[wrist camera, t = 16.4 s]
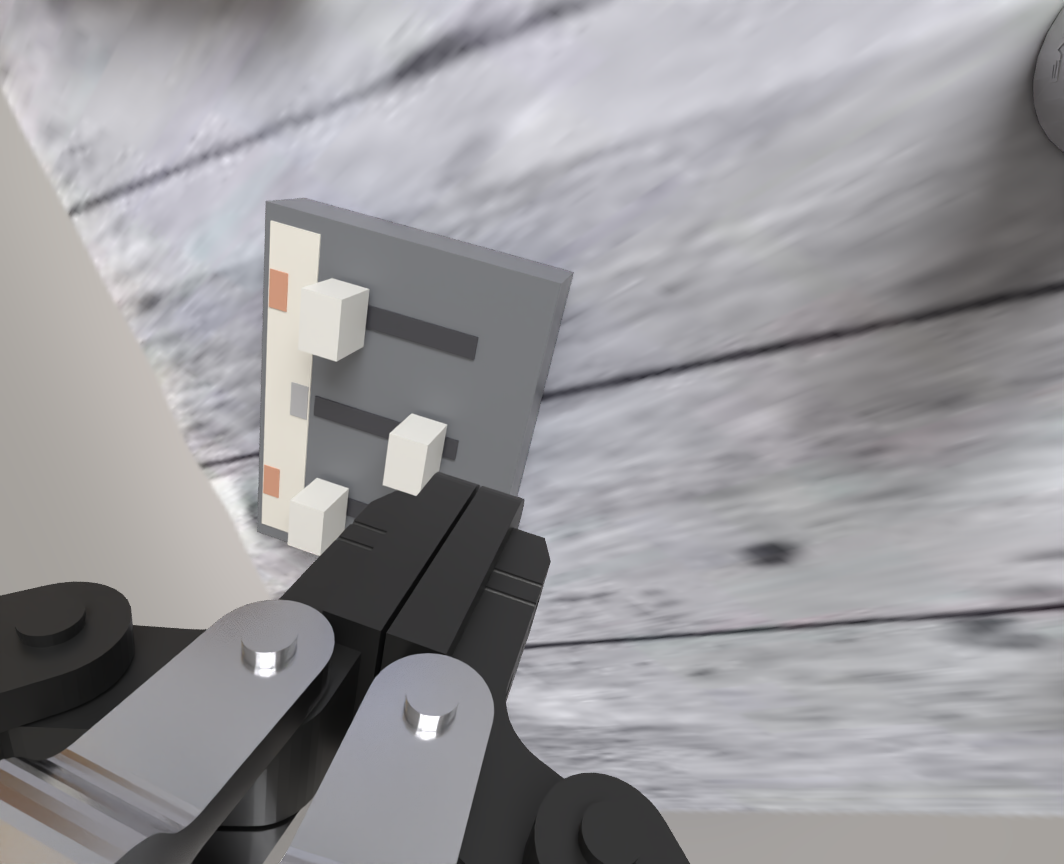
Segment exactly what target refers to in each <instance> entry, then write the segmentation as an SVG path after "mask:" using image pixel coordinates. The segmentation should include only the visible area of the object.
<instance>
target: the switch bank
mask: <svg viewBox="0 0 1064 864" xmlns="http://www.w3.org/2000/svg"><path fill="white" fill-rule="evenodd" d="M572 276H573V272H571V271H567V270H564V269H560V268H556V267H553V266H549V265H546V264H542V263H538V262H535V261H531V260H527V259H524V258H520V257H517V256H513V255H509V254H506V253H502V252H498V251H495V250H491V249H488V248H484V247H480V246H477V245H473V244H469V243H466V242H462V241H459V240H455V239H451V238H448V237H444V236H441V235H437V234H433V233H430V232H426V231H422V230H419V229H415V228H412V227H408V226H404V225H401V224H397V223H393V222H390V221H386V220H383V219H379V218H375V217H372V216H368V215H365V214H361V213H357V212H354V211H350V210H346V209H343V208H339V207H336V206H332V205H328V204H325V203H321V202H317V201H314V200H310V199H307V198H297V199H285V200H273V201H266V213H265V252H264V291H263V331H262V370H261V409H260V448H259V487H258V527H257V532H260V533H263V534H265V535H268V536H271V537H274V538H277V539H280V540H283V541H286V542H288V528H289V509H290V500H291V499H292V498H294V497H295V496H296V495H297V494H298V493H299V492H301V491H302V490H303V489H304V488H305V487H307V486H308V485H309V484H310V483H311V482H313V481H314V480H315V479H316V478H319V479H322V480H325V481H328V482H331V483H334V484H337V485H340V486H343V487H346V488H349V492H348V501H347V511H346V521H345V529H346V528H347V527H348V526H349V525H350V524H353V521H354V519H355V518H356V517H357V516H358V515H359V514H360V513H361V512H362V511H363V510H364V509H365V508H366V507H367V506H368V505H369V503H370V502H372V501H374V500H376V499H378V498H381V497H383V496H385V495H387V494H390V493H392V492H394V491H396V489H393V488H390V487H387V486H384V485H383V478H384V471H385V463H386V456H387V448H388V441H389V433H390V432H392V431H393V430H394V429H395V428H396V427H397V426H398V425H399V424H400V423H402V422H403V421H404V420H405V419H406V418H407V417H408V416H409V415H410V414H415V415H419V416H422V417H425V418H428V419H431V420H435V421H438V422H441V423H444V424H447V430H446V435H445V441H444V446H443V452H442V458H441V463H440V469H439V472H441V473H445V474H448V475H451V476H454V477H457V478H460V479H463V480H466V481H469V482H472V483H475V484H479V485H480V487H481V486H485V487H488V488H491V489H495V490H498V491H501V492H504V493H507V494H510V495H513V496H516V497H517V495H518V491H519V487H520V483H521V479H522V475H523V471H524V467H525V463H526V459H527V455H528V451H529V448H530V444H531V440H532V436H533V432H534V428H535V424H536V420H537V416H538V412H539V408H540V404H541V400H542V396H543V392H544V388H545V384H546V380H547V376H548V372H549V368H550V364H551V360H552V356H553V352H554V348H555V344H556V340H557V336H558V332H559V328H560V324H561V320H562V316H563V312H564V308H565V304H566V300H567V296H568V292H569V288H570V284H571V280H572ZM331 278H333V279H337V280H340V281H344V282H347V283H350V284H354V285H357V286H361V287H364V288H368V289H369V299H368V309H367V318H366V328H365V338H364V347H362V348H360V349H358V350H357V351H355V352H353V353H351V354H349V355H348V356H346V357H344V358H342V359H340V360H339V361H337V362H336V361H333V360H330V359H326V358H323V357H320V356H317V355H313V354H310V353H307V352H304V351H300V350H298V341H299V322H300V303H301V288H303V287H306V286H309V285H312V284H315V283H318V282H322V281H325V280H328V279H331ZM338 538H339V537H338ZM338 538H337V539H336V540H338Z"/></svg>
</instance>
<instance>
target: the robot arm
mask: <svg viewBox="0 0 1064 864" xmlns="http://www.w3.org/2000/svg"><path fill="white" fill-rule="evenodd" d="M1033 94H1034V106H1035V110H1036V113H1037V117H1038V120H1039V123H1040V125H1041V127H1042V128H1043V130H1044V132H1045V133H1046V135H1047V136H1048V138H1049V140H1050V141H1051V142H1053V143H1054V144H1055V145H1056V146H1057V147H1058V148H1059V149H1060V150H1061V151H1063V152H1064V7H1063V8H1062V10H1061V12H1060V13H1059V15H1058V17H1057V18H1056V20H1055V21H1054V23H1053V25H1052V26H1051V28H1050V30H1049V31H1048V33H1047V36H1046V38H1045V41H1044V43H1043V46H1042V48H1041V50H1040V53H1039V55H1038V59H1037V64H1036V69H1035V74H1034V79H1033ZM523 506H524V499H522V498H519V497H516V496H513V495H510V494H507V493H504V492H501V491H498V490H495V489H491V488H488V487H485V486H481V487H480V485H479V484H475V483H472V482H469V481H466V480H463V479H460V478H457V477H454V476H451V475H448V474H445V473H441V472H436V473H435V474H434V475H433V476H432V478H431V479H430V480H429V481H428V482H427V484H426V485H425V486H424V487H423V489H422V490H421V491H420V492H419V493H418V495H417V496H415V495H412V494H409V493H406V492H402V491H399V490H396V491H394V492H392V493H390V494H387V495H385V496H383V497H381V498H378V499H376V500H374V501H372V502H370V503H369V505H368V506H367V507H366V508H365V509H364V510H363V511H362V512H361V513H360V514H359V515H358V516H357V517H356V518H355V519H354V521H353V524H350V525H349V526H348V527H347V528H346V529H345V530H344V531H343V532H342V533H341V534H340V535H339V538H338V540H335V541H334V542H333V543H332V544H331V545H330V546H329V547H328V548H327V549H326V550H325V551H324V552H323V553H322V554H321V555H320V556H319V558H318V559H317V560H316V561H315V562H314V563H313V564H312V565H311V566H310V567H309V568H308V569H307V570H306V571H305V572H304V573H303V575H302V576H301V577H300V578H299V579H298V580H297V581H296V582H295V583H294V584H293V585H292V586H291V587H290V588H289V589H288V590H287V591H286V593H285V594H284V595H283V596H282V597H281V598H280V599H279V600H266V601H259V602H255V603H251V604H247V605H244V606H242V607H239V608H237V609H235V610H233V611H231V612H230V613H228V614H226V615H225V616H223V617H222V618H221V619H219V620H218V621H217V622H216V623H214V624H213V625H212V626H211V627H210V628H208V629H207V630H206V629H205V630H197V629H196V630H194V629H179V628H165V627H150V626H137V625H133V624H132V614H131V606H130V605H129V602H128V600H127V599H126V598H125V597H124V595H123V594H121V593H120V592H118V591H117V590H115V589H113V588H111V587H108V586H106V585H102V584H98V583H90V582H65V583H57V584H51V585H46V586H41V587H37V588H33V589H28V590H24V591H19V592H15V593H10V594H6V595H2V596H0V864H279V862H280V861H281V859H282V858H283V859H282V861H281V862H280V864H690V863H689V861H688V859H687V858H686V856H685V854H684V853H683V851H682V849H681V847H680V846H679V844H678V842H677V841H676V839H675V837H674V836H673V834H672V832H671V830H670V829H669V827H668V825H667V823H666V822H665V820H664V819H663V817H662V816H661V814H660V813H659V811H658V810H657V809H656V807H655V806H654V805H653V804H652V803H651V802H650V801H649V800H648V799H647V798H646V797H645V796H644V795H643V794H642V793H641V792H639V791H638V790H637V789H635V788H634V787H632V786H631V785H629V784H628V783H626V782H624V781H622V780H620V779H618V778H615V777H612V776H609V775H605V774H599V773H581V774H576V775H572V776H570V777H568V778H565V779H564V778H562V777H561V776H560V775H559V774H557V773H556V772H555V771H553V770H552V769H551V768H549V767H548V766H547V765H546V764H544V763H543V762H542V761H540V760H539V759H538V758H537V757H536V756H535V755H533V754H532V753H531V752H530V751H529V750H528V749H527V748H526V747H525V745H524V744H523V743H522V742H521V741H520V739H519V737H518V736H517V734H516V733H515V731H514V729H513V727H512V725H511V723H510V720H509V716H508V713H507V707H506V700H507V698H508V695H509V692H510V689H511V686H512V683H513V680H514V677H515V674H516V671H517V668H518V665H519V662H520V659H521V656H522V653H523V650H524V647H525V644H526V641H527V639H528V636H529V633H530V629H531V626H532V623H533V619H534V616H535V612H536V609H537V606H538V602H539V599H540V596H541V592H542V589H543V585H544V582H545V579H546V575H547V572H548V569H549V565H550V562H551V561H550V557H549V553H548V549H547V545H546V541H545V538H542V537H539V536H536V535H533V534H530V533H527V532H524V531H521V530H518V526H519V522H520V519H521V515H522V511H523ZM285 853H286V854H285ZM284 855H285V856H284ZM283 856H284V857H283Z"/></svg>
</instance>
